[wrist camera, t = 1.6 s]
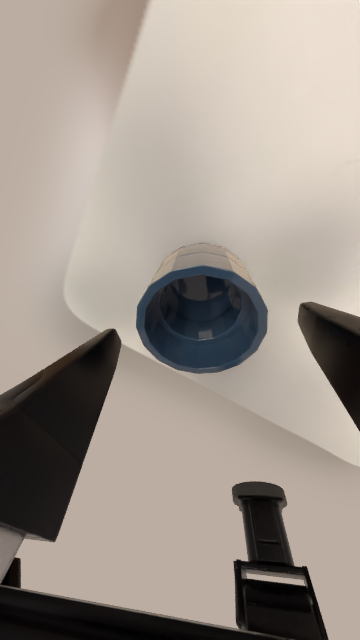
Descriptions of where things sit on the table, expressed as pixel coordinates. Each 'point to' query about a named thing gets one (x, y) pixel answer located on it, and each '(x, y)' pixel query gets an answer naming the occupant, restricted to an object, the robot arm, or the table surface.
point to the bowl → (202, 311)
